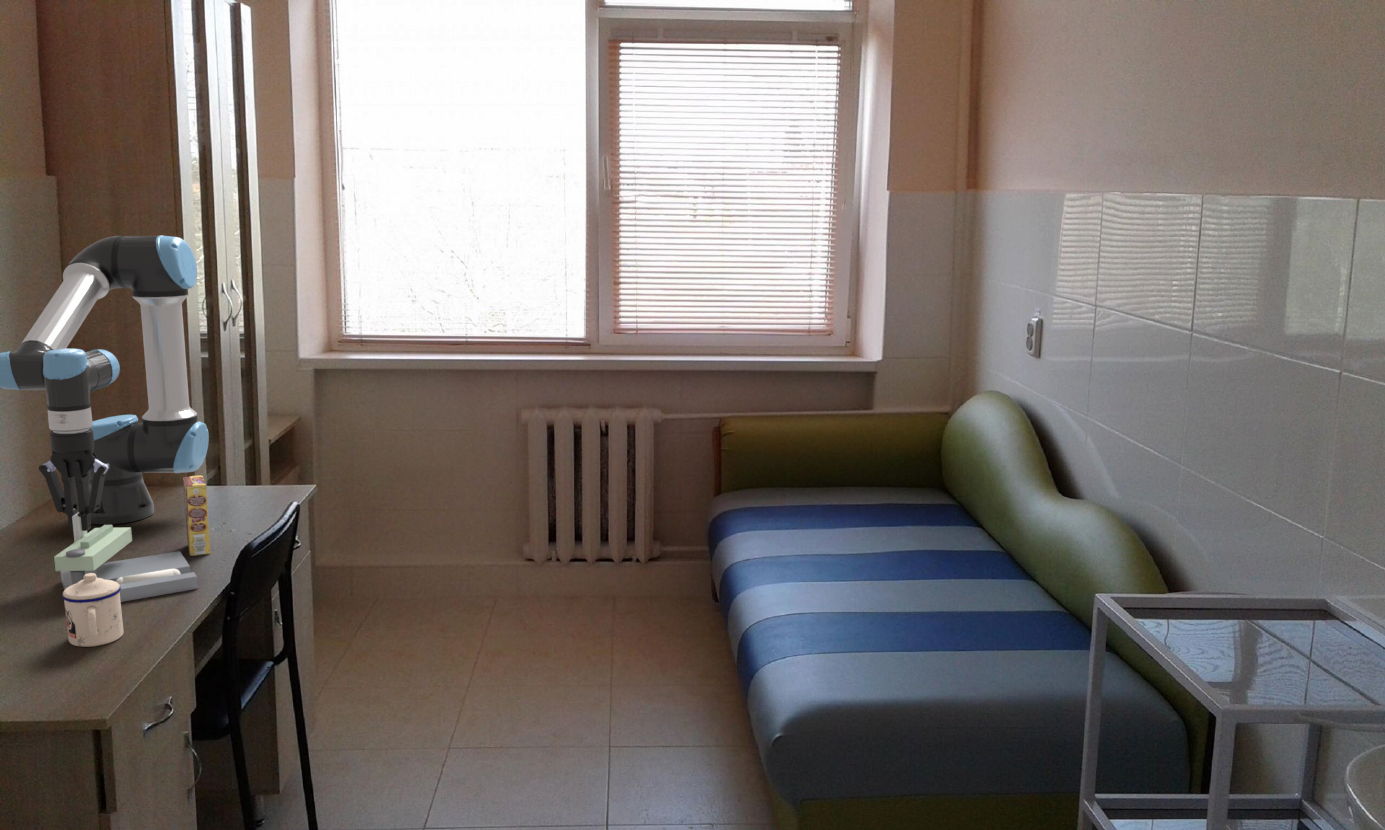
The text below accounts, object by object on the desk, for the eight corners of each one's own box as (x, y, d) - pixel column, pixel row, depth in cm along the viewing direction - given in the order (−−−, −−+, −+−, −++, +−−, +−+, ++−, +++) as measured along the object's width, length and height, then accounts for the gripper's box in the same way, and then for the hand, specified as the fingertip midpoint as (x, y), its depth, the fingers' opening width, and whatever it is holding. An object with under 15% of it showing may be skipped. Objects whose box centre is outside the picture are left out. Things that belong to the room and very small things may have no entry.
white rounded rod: (113, 585, 232) (113, 575, 230) (179, 574, 238) (179, 564, 236) (116, 595, 230) (115, 584, 228) (182, 584, 236) (182, 573, 235)
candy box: (212, 554, 254) (206, 484, 251) (190, 557, 252) (184, 486, 249) (208, 542, 262) (203, 474, 258) (187, 544, 260) (181, 476, 257)
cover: (92, 571, 224) (90, 551, 224) (54, 572, 224) (51, 551, 223) (132, 540, 243) (130, 521, 242) (96, 541, 242) (94, 522, 241)
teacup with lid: (68, 632, 212) (61, 569, 209) (125, 624, 215) (119, 562, 213) (64, 658, 201) (57, 592, 199) (124, 649, 205) (118, 584, 202)
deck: (61, 581, 237) (58, 553, 236) (180, 562, 248) (178, 535, 247) (71, 610, 222) (68, 580, 221) (197, 588, 233) (195, 559, 232)
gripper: (27, 433, 228) (38, 551, 233) (96, 434, 229) (106, 552, 234) (46, 424, 236) (57, 539, 240) (113, 425, 236) (123, 540, 241)
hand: (81, 545), depth 237 cm, fingers closed
